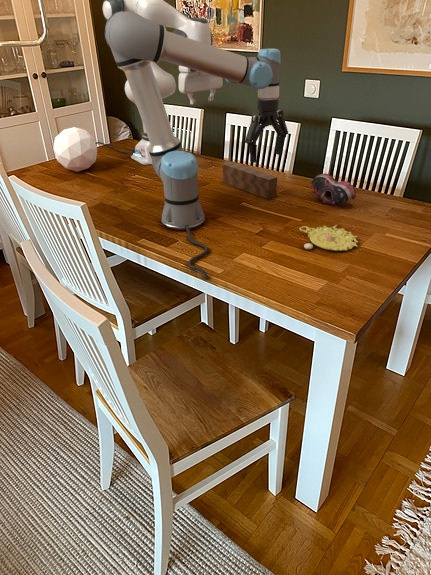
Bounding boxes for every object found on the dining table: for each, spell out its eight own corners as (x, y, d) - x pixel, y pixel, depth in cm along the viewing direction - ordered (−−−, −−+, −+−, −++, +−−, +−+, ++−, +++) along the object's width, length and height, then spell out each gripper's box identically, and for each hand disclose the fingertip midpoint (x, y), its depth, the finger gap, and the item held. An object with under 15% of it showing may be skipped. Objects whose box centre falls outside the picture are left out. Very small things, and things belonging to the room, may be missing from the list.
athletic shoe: (320, 172, 177) (296, 180, 173) (357, 167, 157) (330, 175, 153) (326, 200, 180) (302, 208, 176) (363, 198, 160) (336, 207, 156)
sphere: (84, 186, 210) (70, 160, 191) (54, 166, 215) (37, 139, 196) (110, 158, 215) (99, 131, 196) (80, 139, 219) (66, 110, 201)
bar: (276, 196, 174) (277, 177, 170) (268, 199, 172) (268, 179, 168) (231, 179, 193) (230, 161, 188) (222, 182, 190) (222, 163, 186)
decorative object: (343, 255, 128) (285, 234, 139) (342, 262, 130) (284, 241, 140) (372, 230, 142) (317, 213, 152) (371, 237, 143) (316, 219, 153)
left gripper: (215, 62, 183) (216, 98, 190) (175, 67, 172) (177, 104, 180) (225, 63, 179) (226, 100, 186) (184, 68, 168) (186, 106, 176)
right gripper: (285, 92, 165) (282, 149, 177) (234, 102, 153) (235, 163, 164) (300, 94, 160) (296, 153, 172) (249, 104, 148) (248, 167, 159)
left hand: (202, 102), depth 183 cm, fingers open, 8 cm apart
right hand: (266, 158), depth 168 cm, fingers open, 13 cm apart
